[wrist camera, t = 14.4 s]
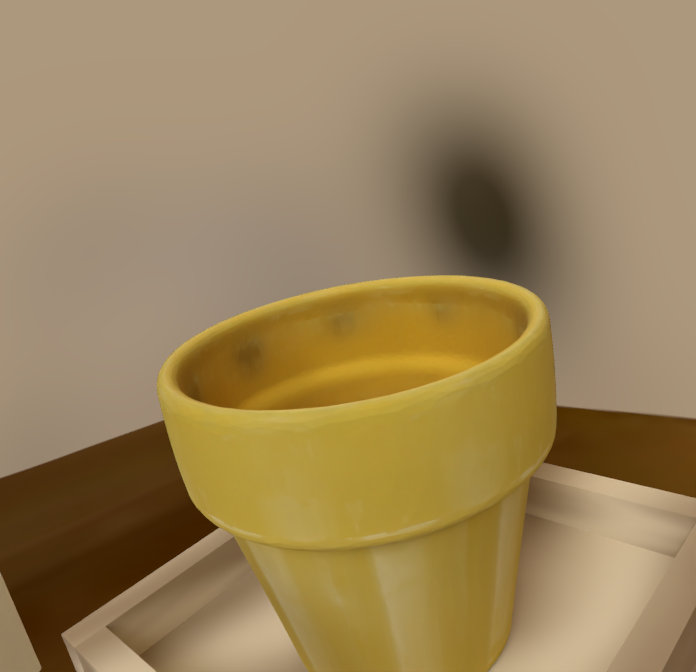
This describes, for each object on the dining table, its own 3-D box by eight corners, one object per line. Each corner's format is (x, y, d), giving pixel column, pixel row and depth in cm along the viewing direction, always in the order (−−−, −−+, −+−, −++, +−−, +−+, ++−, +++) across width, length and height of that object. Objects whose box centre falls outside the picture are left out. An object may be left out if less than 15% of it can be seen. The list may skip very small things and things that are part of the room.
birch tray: (86, 695, 21) (60, 634, 20) (384, 470, 30) (374, 423, 30) (488, 1141, 10) (466, 1045, 9) (746, 578, 20) (745, 510, 19)
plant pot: (631, 564, 20) (608, 266, 17) (480, 873, 13) (397, 448, 10) (372, 496, 27) (324, 272, 24) (175, 677, 20) (71, 385, 17)
